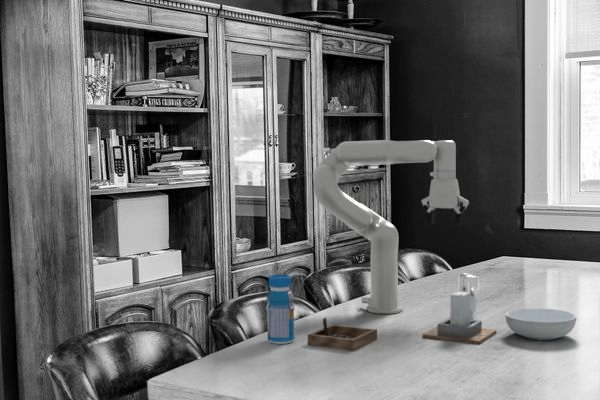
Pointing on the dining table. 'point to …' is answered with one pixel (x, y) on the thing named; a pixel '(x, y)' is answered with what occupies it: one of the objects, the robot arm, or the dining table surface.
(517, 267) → the dining table surface
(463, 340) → the board with square socket
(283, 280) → the beverage bottle
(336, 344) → the square wooden tray
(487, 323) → the dining table surface
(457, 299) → the skincare box
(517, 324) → the serving bowl
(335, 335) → the compass
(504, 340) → the dining table surface
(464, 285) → the beer glass
